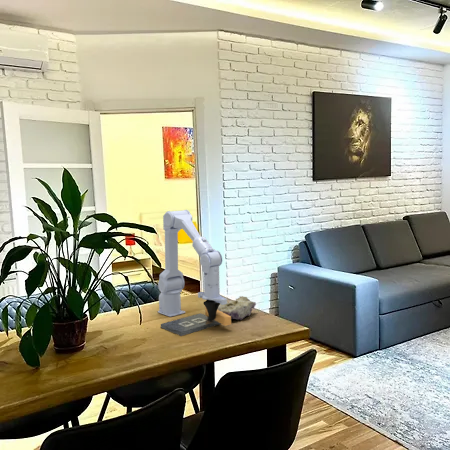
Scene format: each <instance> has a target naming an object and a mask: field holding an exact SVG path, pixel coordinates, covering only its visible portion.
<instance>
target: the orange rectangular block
mask: <svg viewBox="0 0 450 450" xmlns="http://www.w3.org/2000/svg"><path fill="white" fill-rule="evenodd" d="M204 311H205V312H204V313H205V314H204V315H205V316H207V317H209V315H208V311H207V309H206V307H205V306H204ZM214 320H215V321H217V322H219V323H221V324H220V325H223V326H230V325H232V319H231V316H229V315H227V314H225V313H223V312H221V311H219V310H217V312H216V318H215V319H214Z"/></svg>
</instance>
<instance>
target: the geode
mask: <svg viewBox="0 0 450 450" xmlns="http://www.w3.org/2000/svg"><path fill="white" fill-rule="evenodd" d="M256 305H257V303H256V301H252V300H250V299H249V298H248V297H247V296H243V295H240V296H238V298H235V300H233V299H231V300H229V302H228V299H227V304H225V305H221V303H220V305H219V307H218V309H217V310H219V311H221V312H223V313H225V314H227V315H229V316H231V320H238V321H242V320H244V319H245V318H246V317H249V316H251V314H252V312H253V309H255V307H256Z"/></svg>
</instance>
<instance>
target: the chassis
mask: <svg viewBox="0 0 450 450" xmlns="http://www.w3.org/2000/svg"><path fill="white" fill-rule="evenodd" d="M219 325H222V324H221V323H219V322H217V321H215V320H210V319H209V317H207V316H205V314H204V313H201V312H200V313H196V314H193V315H188V316H185V317H181V318H179V319H173V320H170V321H166V322H162V323H160V328H161V329H163V330H165V331H167V332H171V334H172V333H173V334H175V335H177V336H180V337H182V336H187V335H189V334H192V333H195V332H199V331H203V330H206V329H210V328H213V327H216V326H219Z"/></svg>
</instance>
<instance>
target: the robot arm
mask: <svg viewBox="0 0 450 450" xmlns="http://www.w3.org/2000/svg"><path fill="white" fill-rule="evenodd" d="M162 216H163V217H162V219H163V220H162V221H163V222H162V223H163V224H162V225H163V227H162V228H163V230H164V258H165V259H164V262H165V263H164V266H165V268H164V270H163V271H161V273H160V274H159V278H158V279H159V280H158V284H157V286H158V290H159V291H160V292H159V295H158V305H159V306H158V307H159V308H158V309H159V310H158V311H157V313H159V314H161V315H165V316H167V317H169V318H171V317H175V316H179V315H182V314H185V313H186V311H185V310H182V301H181V292H183V289H184V288H185V278H184V273H183V272H182V271H181V270H179V250H178V249H179V247H178V246H179V239H178V236H179V235H178V233H179V232H180V231H181V230H183V231H184V232H185V234H186V235H187V236H188V237H189V238H190V240H191V242H192V245H191V246H192V247H193V249H194V250H195V252H196V253H197V254H198V256H199V258H200V259H199V262H200V265H201V269H202V270H201V271H202V273H203V287H204V288H203V290H204V291H199V292H197V298H198V299H199V298H200V299H202V300H203V305H204V308H205V307H206V309H207V311H208V315H209V319H210V320H214V319H215V318H216V312H217V309H218V307H219V305H220V303H221V305H225V304H227V300H228V298H226V297H224V296H222V295H221V294H220V291H221V290H220V288H221V287H220V266H221V265H222V264H223V256H222V254H221V252H220V250H216V249H214V248H213V247H212V246H211V244H210V243H209V241H208V240H207V238H206V237H204V236H201V235H200V233H199V231H198V230H197V228H196V226H195V224H194V222H193V215H192V214H191V213H190V210H189V209H184V210H172V211H170V210H167V211H165V213H164V214H163V215H162ZM204 300H205V301H204Z"/></svg>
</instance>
